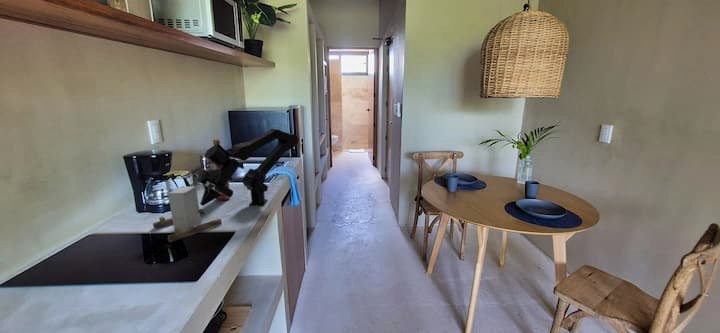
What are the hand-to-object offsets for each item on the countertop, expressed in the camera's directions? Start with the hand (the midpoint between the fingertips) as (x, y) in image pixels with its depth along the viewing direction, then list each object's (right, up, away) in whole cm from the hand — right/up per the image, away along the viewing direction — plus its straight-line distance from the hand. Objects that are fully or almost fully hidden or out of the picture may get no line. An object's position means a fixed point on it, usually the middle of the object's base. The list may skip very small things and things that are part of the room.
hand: (201, 205), depth 118 cm
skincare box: (-4, -8, -2) cm, 9 cm away
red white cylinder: (-2, 0, +25) cm, 25 cm away
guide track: (-4, -8, -2) cm, 9 cm away
